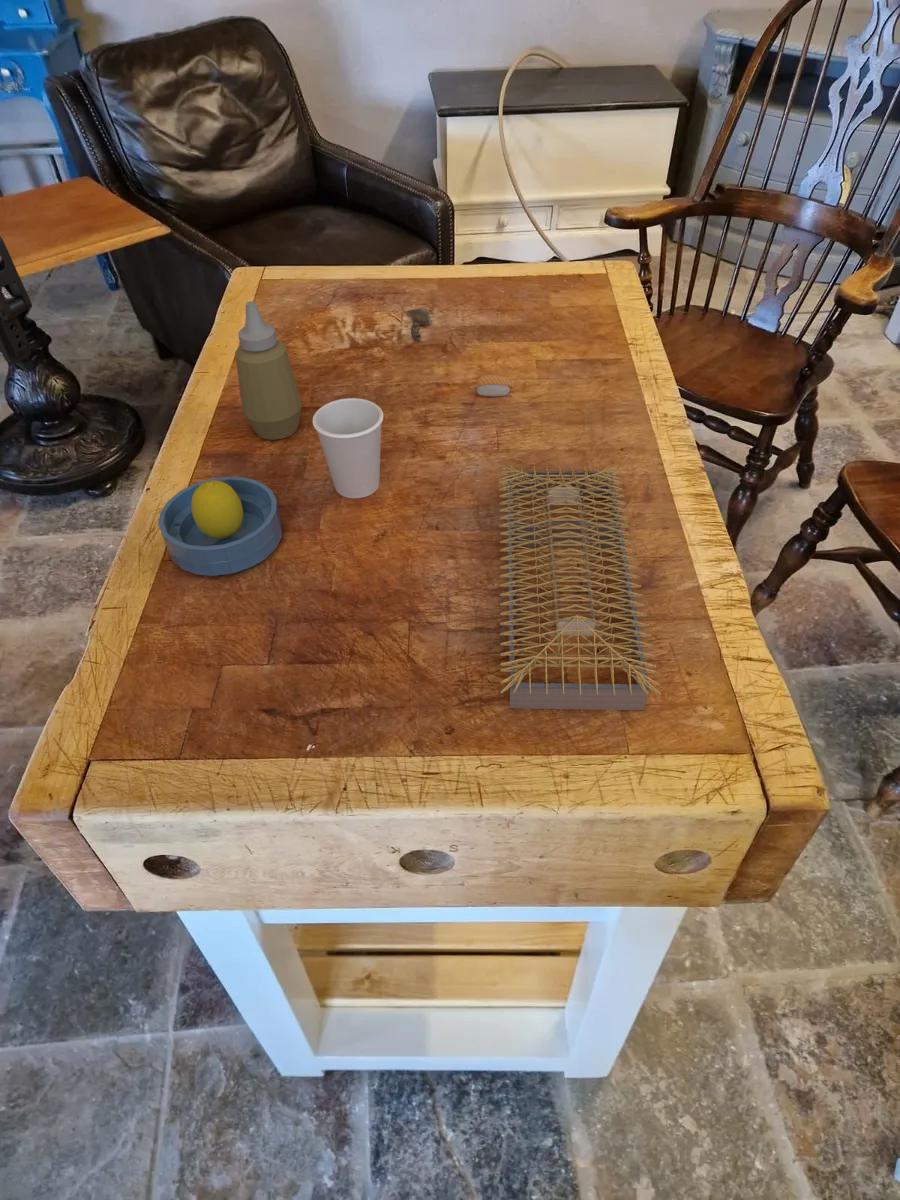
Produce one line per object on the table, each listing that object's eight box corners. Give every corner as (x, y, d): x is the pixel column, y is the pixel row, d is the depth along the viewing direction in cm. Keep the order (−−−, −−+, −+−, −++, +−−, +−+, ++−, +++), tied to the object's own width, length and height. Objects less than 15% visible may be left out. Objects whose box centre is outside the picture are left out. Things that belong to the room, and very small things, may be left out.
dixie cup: (320, 471, 103) (307, 403, 96) (383, 460, 105) (376, 392, 98) (329, 510, 98) (317, 441, 90) (396, 498, 99) (389, 429, 92)
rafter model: (499, 488, 100) (499, 447, 95) (615, 489, 99) (621, 447, 95) (500, 715, 75) (501, 673, 71) (655, 718, 74) (666, 675, 70)
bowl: (236, 593, 88) (226, 563, 84) (145, 558, 92) (133, 528, 89) (305, 524, 96) (299, 494, 93) (219, 495, 100) (210, 465, 97)
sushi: (514, 398, 115) (514, 379, 112) (469, 398, 115) (469, 379, 113) (513, 388, 116) (514, 370, 114) (469, 389, 117) (469, 370, 115)
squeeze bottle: (318, 427, 111) (296, 301, 98) (271, 452, 107) (243, 324, 94) (282, 407, 115) (257, 283, 102) (236, 430, 111) (204, 305, 98)
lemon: (258, 529, 94) (244, 474, 89) (230, 558, 91) (214, 502, 85) (220, 517, 96) (204, 463, 91) (191, 545, 93) (172, 490, 87)
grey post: (437, 311, 135) (408, 311, 136) (437, 304, 134) (408, 304, 135) (424, 342, 127) (394, 341, 127) (424, 335, 126) (393, 334, 127)
